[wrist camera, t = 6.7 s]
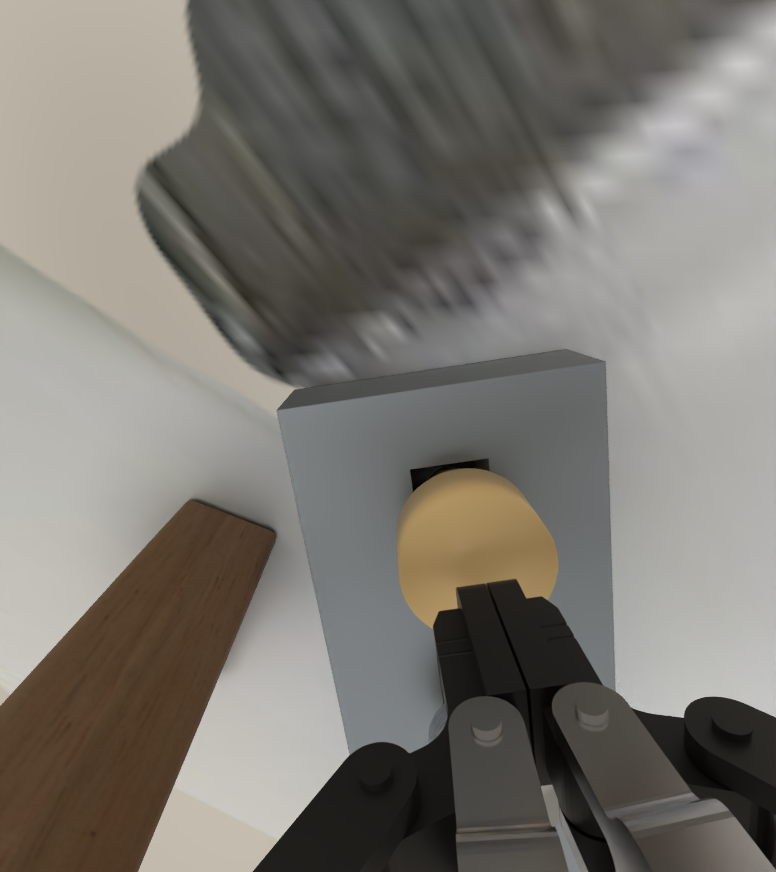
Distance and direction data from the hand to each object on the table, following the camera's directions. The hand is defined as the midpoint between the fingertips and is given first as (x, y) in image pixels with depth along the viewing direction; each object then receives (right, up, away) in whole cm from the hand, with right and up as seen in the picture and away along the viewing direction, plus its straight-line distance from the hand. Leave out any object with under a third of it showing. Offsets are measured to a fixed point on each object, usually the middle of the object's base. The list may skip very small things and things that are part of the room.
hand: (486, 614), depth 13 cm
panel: (+1, -5, +13) cm, 14 cm away
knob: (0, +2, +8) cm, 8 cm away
